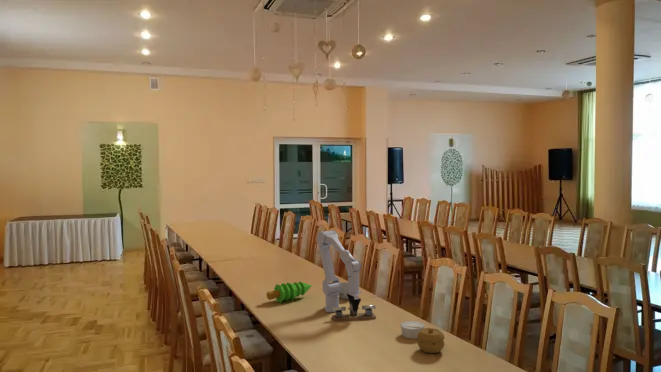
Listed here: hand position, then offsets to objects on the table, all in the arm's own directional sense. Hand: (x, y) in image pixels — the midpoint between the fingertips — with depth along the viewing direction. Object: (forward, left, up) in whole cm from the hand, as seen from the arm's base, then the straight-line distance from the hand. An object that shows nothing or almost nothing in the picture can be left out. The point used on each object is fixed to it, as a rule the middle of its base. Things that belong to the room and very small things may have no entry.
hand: (353, 309), depth 255 cm
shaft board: (0, 0, -5) cm, 5 cm away
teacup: (-37, +4, -5) cm, 38 cm away
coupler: (0, 0, -3) cm, 3 cm away
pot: (+49, +24, -5) cm, 55 cm away
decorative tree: (-39, -30, -5) cm, 49 cm away
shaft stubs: (0, 0, -3) cm, 3 cm away
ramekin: (+30, +22, -5) cm, 38 cm away
